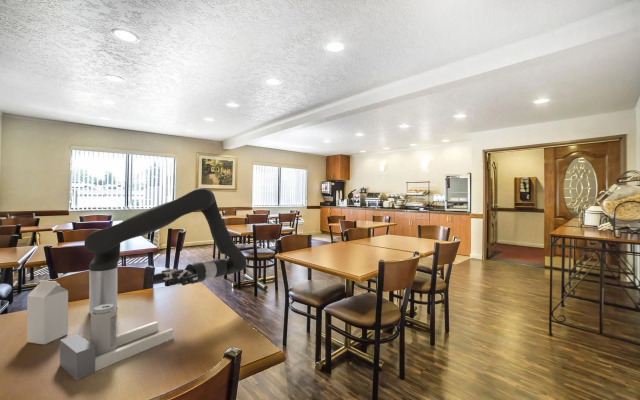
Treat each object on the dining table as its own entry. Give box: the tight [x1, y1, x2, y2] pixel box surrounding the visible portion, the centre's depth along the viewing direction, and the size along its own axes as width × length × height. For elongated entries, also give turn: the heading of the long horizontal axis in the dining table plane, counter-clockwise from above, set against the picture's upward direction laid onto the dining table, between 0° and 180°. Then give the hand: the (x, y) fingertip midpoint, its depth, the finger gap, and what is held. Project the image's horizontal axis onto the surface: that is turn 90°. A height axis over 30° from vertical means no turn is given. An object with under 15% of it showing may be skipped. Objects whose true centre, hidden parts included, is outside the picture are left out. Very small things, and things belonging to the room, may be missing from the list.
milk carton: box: [26, 279, 69, 345], centre depth 95 cm, size 7×7×19 cm
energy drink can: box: [90, 304, 118, 357], centre depth 84 cm, size 6×6×15 cm
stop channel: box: [59, 320, 175, 381], centre depth 88 cm, size 12×26×7 cm, turn 147°
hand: (158, 280), depth 98 cm, fingers open, 8 cm apart
